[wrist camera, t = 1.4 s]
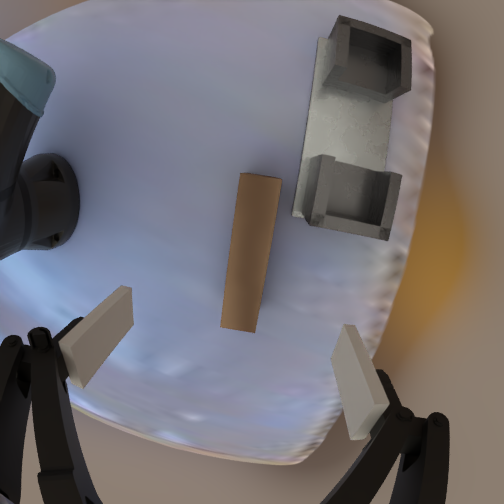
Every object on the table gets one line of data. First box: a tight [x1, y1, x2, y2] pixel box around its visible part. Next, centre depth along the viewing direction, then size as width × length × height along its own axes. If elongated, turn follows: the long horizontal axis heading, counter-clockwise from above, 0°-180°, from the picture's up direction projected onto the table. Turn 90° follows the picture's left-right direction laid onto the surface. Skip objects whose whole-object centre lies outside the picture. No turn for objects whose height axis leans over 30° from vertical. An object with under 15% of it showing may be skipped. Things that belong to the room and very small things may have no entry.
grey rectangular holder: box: [291, 15, 412, 241], centre depth 24 cm, size 10×23×8 cm, turn 171°
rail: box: [220, 173, 282, 333], centre depth 31 cm, size 4×17×6 cm, turn 171°
